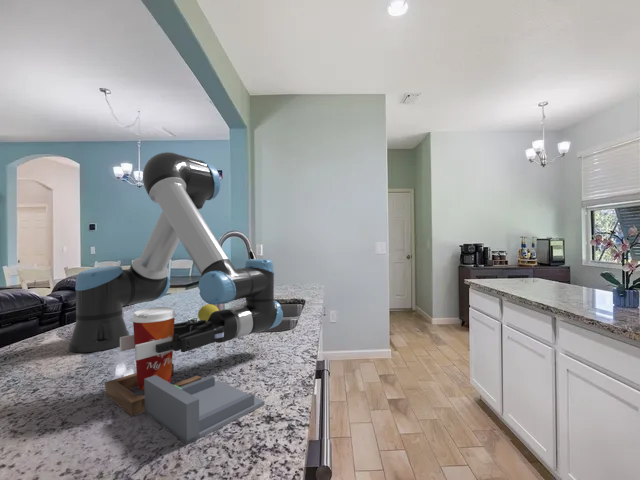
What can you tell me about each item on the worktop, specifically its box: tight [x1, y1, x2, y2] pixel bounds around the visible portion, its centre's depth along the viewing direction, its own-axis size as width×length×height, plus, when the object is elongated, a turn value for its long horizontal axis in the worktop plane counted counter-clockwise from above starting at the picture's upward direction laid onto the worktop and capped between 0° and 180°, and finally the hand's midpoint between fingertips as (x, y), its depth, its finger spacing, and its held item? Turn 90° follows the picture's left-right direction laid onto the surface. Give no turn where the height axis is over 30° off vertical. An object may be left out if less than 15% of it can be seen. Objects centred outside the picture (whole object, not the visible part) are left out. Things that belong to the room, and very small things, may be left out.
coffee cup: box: [130, 306, 177, 391], centre depth 65 cm, size 8×8×15 cm
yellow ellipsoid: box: [197, 303, 220, 321], centre depth 106 cm, size 7×7×10 cm
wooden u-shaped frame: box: [104, 363, 202, 417], centre depth 65 cm, size 13×14×2 cm
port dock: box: [143, 375, 266, 446], centre depth 58 cm, size 15×15×6 cm
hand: (128, 348), depth 62 cm, fingers closed on coffee cup, 7 cm apart
